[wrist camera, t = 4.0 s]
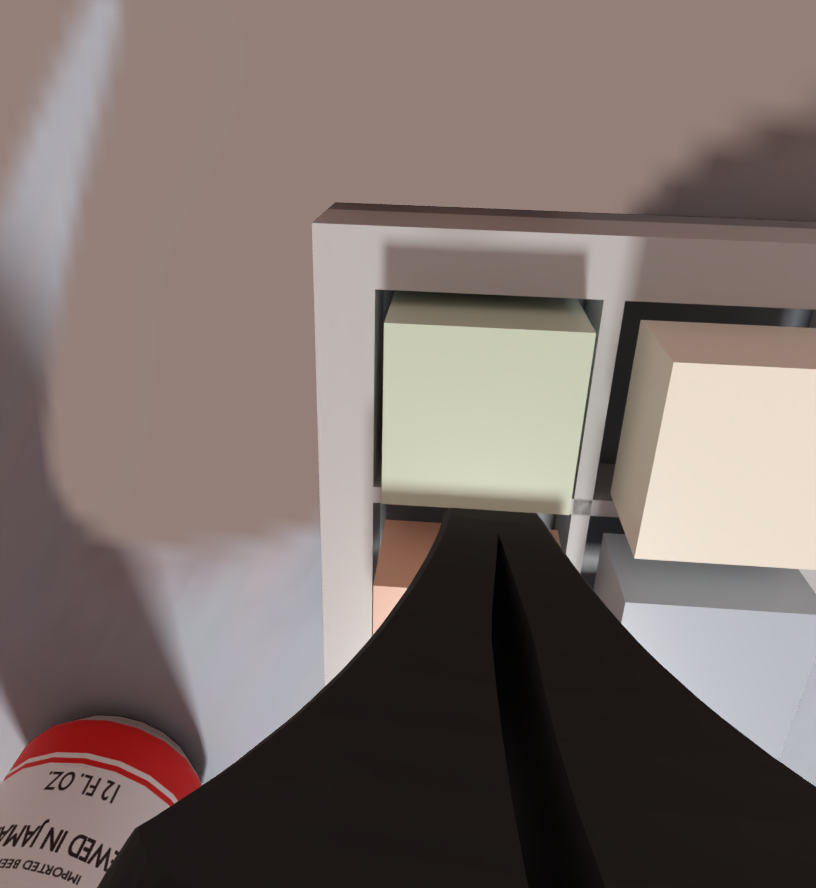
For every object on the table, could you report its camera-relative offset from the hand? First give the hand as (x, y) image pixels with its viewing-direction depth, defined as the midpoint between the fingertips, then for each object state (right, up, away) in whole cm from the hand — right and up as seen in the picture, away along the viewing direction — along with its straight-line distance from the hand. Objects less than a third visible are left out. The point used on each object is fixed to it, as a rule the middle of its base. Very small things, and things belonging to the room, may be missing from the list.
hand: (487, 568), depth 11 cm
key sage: (0, +3, +5) cm, 6 cm away
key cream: (+5, +2, +4) cm, 7 cm away
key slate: (+5, -2, +6) cm, 8 cm away
